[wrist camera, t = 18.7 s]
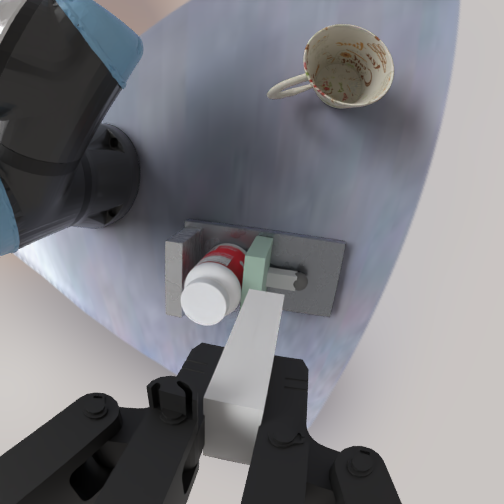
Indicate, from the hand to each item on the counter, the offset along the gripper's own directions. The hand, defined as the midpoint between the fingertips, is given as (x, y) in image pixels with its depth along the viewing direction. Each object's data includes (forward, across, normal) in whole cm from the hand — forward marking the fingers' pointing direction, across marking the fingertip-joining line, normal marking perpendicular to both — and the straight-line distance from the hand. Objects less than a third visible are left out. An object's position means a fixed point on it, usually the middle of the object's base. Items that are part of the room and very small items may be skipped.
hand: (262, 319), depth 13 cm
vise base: (+26, -3, -8) cm, 28 cm away
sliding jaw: (+24, 0, -8) cm, 26 cm away
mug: (+26, +2, +15) cm, 30 cm away
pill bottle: (+25, -7, -8) cm, 27 cm away
